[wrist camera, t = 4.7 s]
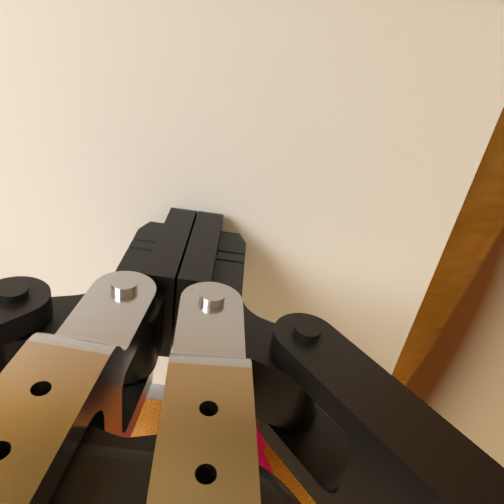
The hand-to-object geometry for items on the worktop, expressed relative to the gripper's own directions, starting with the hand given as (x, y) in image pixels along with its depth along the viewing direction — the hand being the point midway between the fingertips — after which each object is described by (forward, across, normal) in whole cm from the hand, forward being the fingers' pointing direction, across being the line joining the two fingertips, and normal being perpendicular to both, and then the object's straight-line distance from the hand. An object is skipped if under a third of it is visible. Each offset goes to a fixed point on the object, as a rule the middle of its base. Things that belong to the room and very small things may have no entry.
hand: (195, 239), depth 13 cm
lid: (+1, 0, -1) cm, 2 cm away
